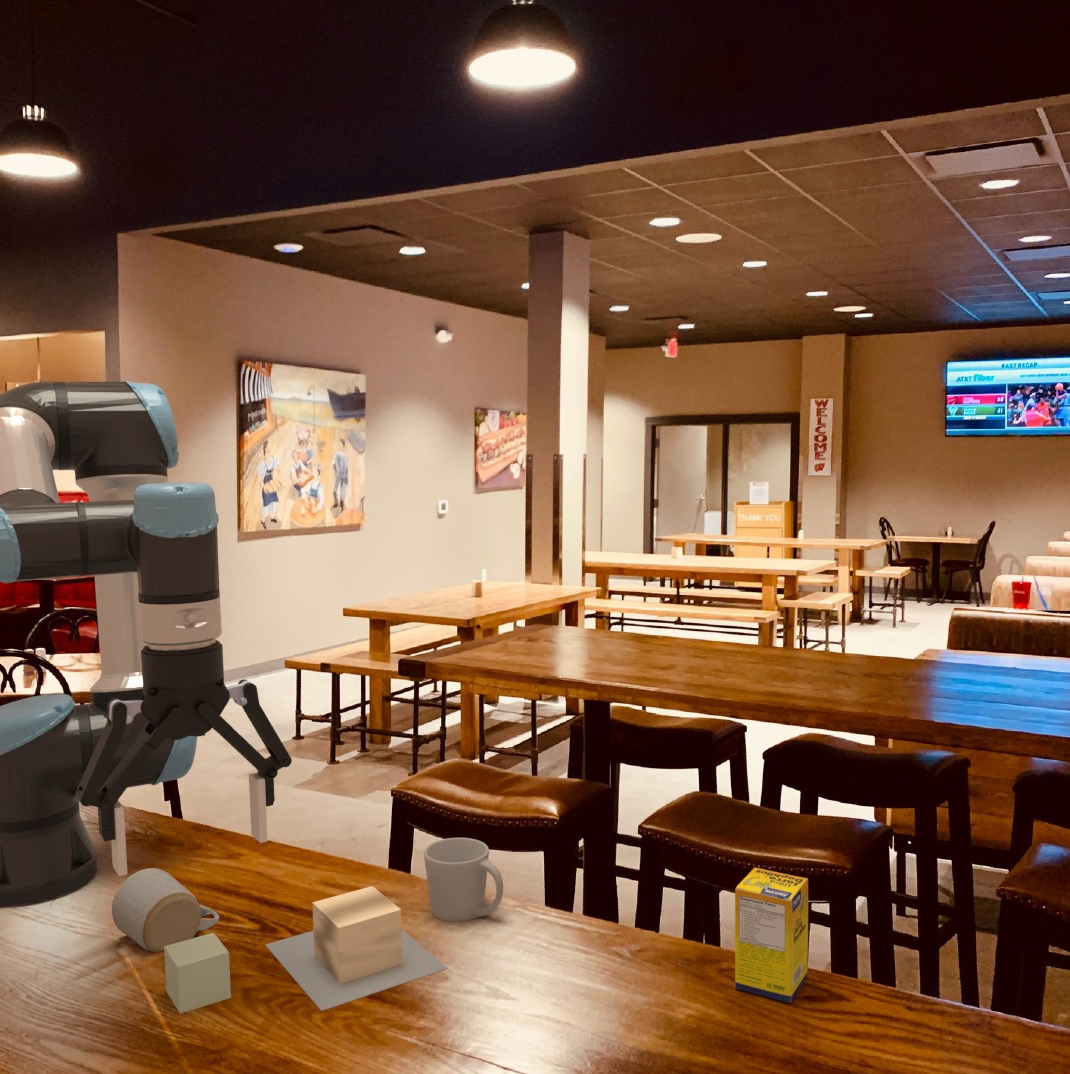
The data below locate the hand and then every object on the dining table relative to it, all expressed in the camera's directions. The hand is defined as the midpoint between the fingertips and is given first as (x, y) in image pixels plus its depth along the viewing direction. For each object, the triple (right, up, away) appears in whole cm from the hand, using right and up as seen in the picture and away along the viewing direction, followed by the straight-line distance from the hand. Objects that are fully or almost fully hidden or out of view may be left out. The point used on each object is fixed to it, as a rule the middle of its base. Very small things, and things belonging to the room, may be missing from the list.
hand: (192, 854), depth 103 cm
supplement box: (+58, -15, +5) cm, 60 cm away
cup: (+26, -14, +19) cm, 35 cm away
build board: (+15, -15, +9) cm, 23 cm away
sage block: (0, -16, +2) cm, 16 cm away
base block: (+15, -14, +8) cm, 22 cm away
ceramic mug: (-8, -15, +16) cm, 23 cm away
